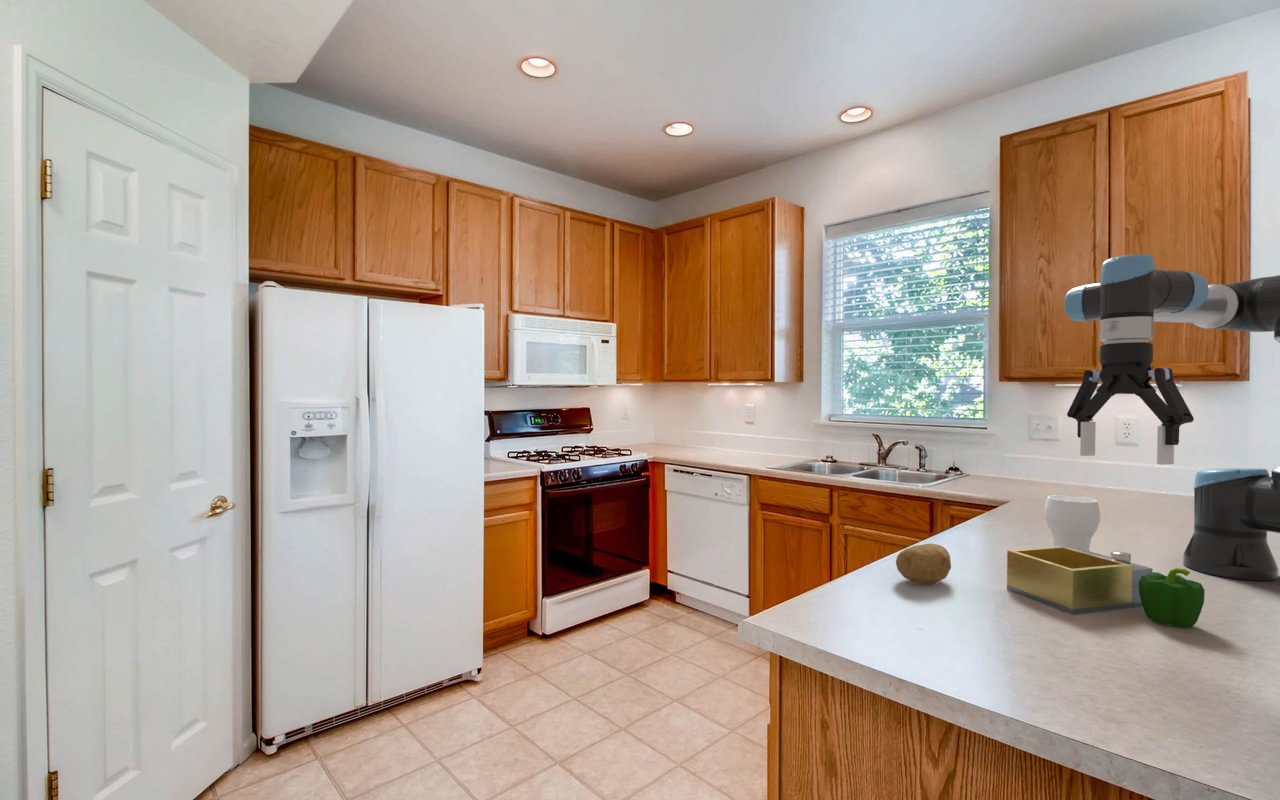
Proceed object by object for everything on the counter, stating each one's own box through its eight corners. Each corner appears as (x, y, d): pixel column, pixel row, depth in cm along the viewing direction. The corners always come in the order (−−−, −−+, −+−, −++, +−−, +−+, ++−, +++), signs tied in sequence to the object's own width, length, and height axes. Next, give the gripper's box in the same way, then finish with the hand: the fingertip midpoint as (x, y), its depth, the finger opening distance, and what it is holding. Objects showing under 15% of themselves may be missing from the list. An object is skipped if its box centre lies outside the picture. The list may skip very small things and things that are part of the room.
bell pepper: (1126, 613, 108) (1127, 558, 108) (1172, 614, 108) (1173, 559, 108) (1165, 632, 100) (1166, 573, 99) (1216, 633, 99) (1217, 573, 99)
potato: (963, 581, 126) (964, 544, 126) (931, 595, 117) (932, 555, 117) (918, 570, 133) (918, 535, 133) (885, 583, 125) (885, 545, 125)
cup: (1109, 570, 134) (1110, 503, 134) (1056, 567, 136) (1057, 502, 136) (1084, 557, 144) (1085, 495, 144) (1035, 554, 146) (1036, 494, 146)
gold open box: (1080, 582, 125) (1080, 539, 125) (1151, 605, 112) (1152, 557, 112) (1006, 589, 121) (1007, 545, 121) (1072, 614, 107) (1073, 565, 107)
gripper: (1046, 347, 119) (1045, 452, 119) (1189, 336, 94) (1186, 469, 95) (1076, 347, 120) (1075, 452, 121) (1223, 337, 96) (1221, 467, 97)
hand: (1124, 459), depth 108 cm, fingers open, 13 cm apart
